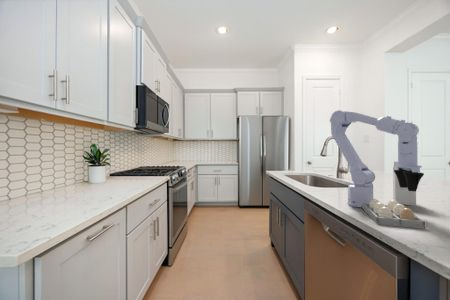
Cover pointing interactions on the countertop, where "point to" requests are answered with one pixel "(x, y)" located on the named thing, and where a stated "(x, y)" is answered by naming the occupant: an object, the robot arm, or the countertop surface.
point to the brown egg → (407, 214)
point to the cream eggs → (386, 208)
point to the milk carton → (402, 191)
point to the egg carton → (393, 219)
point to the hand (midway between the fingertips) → (407, 189)
